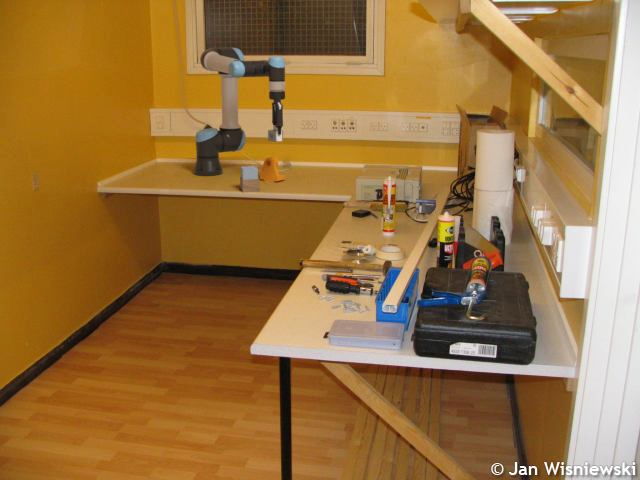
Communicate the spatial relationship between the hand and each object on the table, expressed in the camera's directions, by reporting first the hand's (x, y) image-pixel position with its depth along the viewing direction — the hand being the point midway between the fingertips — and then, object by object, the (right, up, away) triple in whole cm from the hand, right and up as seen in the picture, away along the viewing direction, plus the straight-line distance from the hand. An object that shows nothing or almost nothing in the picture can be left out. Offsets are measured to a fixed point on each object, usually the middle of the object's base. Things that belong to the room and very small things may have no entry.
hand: (277, 140), depth 322 cm
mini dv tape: (+64, -37, -44) cm, 86 cm away
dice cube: (-1, -1, 0) cm, 1 cm away
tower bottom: (-13, -24, -1) cm, 27 cm away
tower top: (-13, -18, -3) cm, 23 cm away
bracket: (-4, -18, +21) cm, 28 cm away
